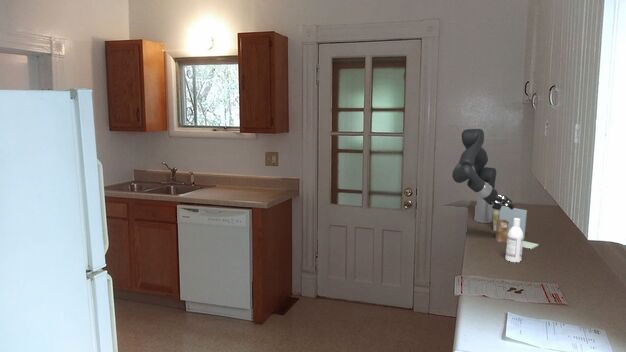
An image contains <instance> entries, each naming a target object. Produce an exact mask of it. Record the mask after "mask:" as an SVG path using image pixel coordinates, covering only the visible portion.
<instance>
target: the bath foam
mask: <svg viewBox="0 0 626 352" xmlns="http://www.w3.org/2000/svg"><path fill="white" fill-rule="evenodd" d="M523 238H524V237H523V232H522V230H521V228H520V219H519V218H514V220H513V226H512V228H511V229H510V230H509V232H508V235H507V242H506V246H505V247H506V248H505V257H504V258H505V260H506V261H508V262H509V261H510V263H516V262H517V263H521V262H522V257H523V248H524V247H523V241H524V240H523ZM524 239H525V238H524ZM520 261H521V262H520Z"/></svg>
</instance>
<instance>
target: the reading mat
mask: <svg viewBox="0 0 626 352" xmlns="http://www.w3.org/2000/svg"><path fill="white" fill-rule="evenodd" d="M538 246H539V243H534V242H529V241H526V240H523V248H526V249H529V248H530V250H532V249H535V248H536V247H538Z"/></svg>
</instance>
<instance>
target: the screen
mask: <svg viewBox="0 0 626 352" xmlns="http://www.w3.org/2000/svg"><path fill="white" fill-rule="evenodd" d="M527 214H528V210H526V209H523V208H516V207H514V209H513V210H511V209H510V208H509V207H506V206H502V207H501V209H500V217H499V220H506V221H508V222H509V225H508V232H509V230H510V229H511V228H512V226H513V220H514V218H519V219H520V228H521V230H522V232H523V237H524V238H523V241H525V238H526V235H525V234H526V226H527V224H526V223H527V216H528V215H527Z"/></svg>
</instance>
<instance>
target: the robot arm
mask: <svg viewBox="0 0 626 352" xmlns="http://www.w3.org/2000/svg"><path fill="white" fill-rule="evenodd" d="M461 142H462V144H463V146H464V149H465V150H464V151H463V152H462V153H461V156H460V158H459V161H458V163H457V164H456V166H455V167H454V169H453V170H452V173H451V174H452V179H453V181H454V182H456V183H459V184H462V183H464V182H466V181H467V184H466V185H467V187H468V188H469V189H470V190H472V191H473V192H474V193H475V194H476V195H477V197H476V200H477V201H476V205H475V206H474V219H473V220H474V221H475V222H477V223H482V224H491V223H493V208H492V206H496V207H497V208H498V209H501V207H502V205H506V206H507V207H509V208H510V209H511V210H513V209H514V208H515V205H513V203H512V202H513V201H512V200H511V199H510V198H508V197H507V196H506V195H504V194H503V195H502V196H501V195H499V193H498V190H497V189H495V185H496V180H497V170H496V168H495V167H489V166H486V165H487V164H488V161H489V156H488V154H487V151H486V149H484V148H483V144H484V142H485V132H484V130H483V129H482V128H468V129H464V130H463V131H462V132H461Z"/></svg>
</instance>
